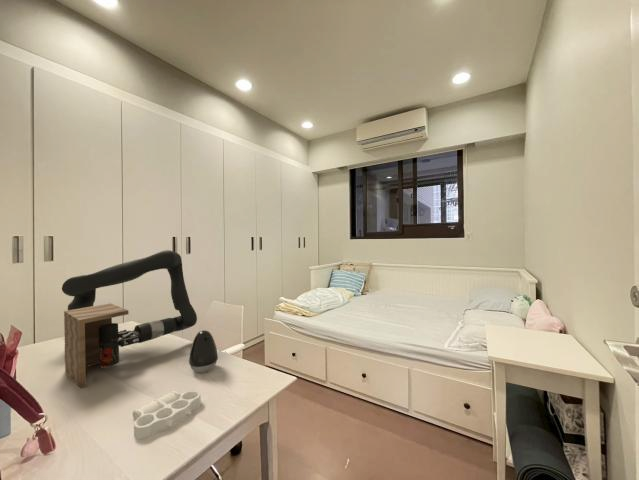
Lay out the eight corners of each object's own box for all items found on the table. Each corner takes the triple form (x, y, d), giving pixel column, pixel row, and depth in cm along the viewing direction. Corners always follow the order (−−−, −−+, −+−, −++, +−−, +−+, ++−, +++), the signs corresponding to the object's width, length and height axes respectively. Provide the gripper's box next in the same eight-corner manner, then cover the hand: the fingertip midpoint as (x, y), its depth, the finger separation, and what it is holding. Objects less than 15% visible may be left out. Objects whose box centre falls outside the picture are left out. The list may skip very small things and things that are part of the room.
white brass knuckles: (182, 393, 89) (210, 407, 81) (119, 426, 73) (146, 448, 66) (182, 383, 89) (210, 396, 81) (119, 414, 73) (146, 434, 66)
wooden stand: (65, 372, 102) (64, 311, 102) (111, 357, 114) (110, 303, 114) (80, 388, 91) (78, 320, 91) (129, 370, 103) (128, 310, 103)
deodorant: (123, 360, 107) (121, 323, 107) (109, 367, 101) (108, 328, 101) (109, 359, 108) (108, 322, 107) (95, 367, 102) (94, 328, 101)
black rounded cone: (194, 379, 96) (193, 337, 96) (186, 369, 104) (185, 330, 104) (222, 370, 103) (221, 331, 103) (212, 360, 111) (212, 324, 111)
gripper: (142, 319, 120) (94, 330, 106) (156, 325, 112) (107, 338, 98) (142, 336, 120) (95, 349, 106) (157, 343, 112) (108, 358, 98)
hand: (101, 344), depth 102 cm, fingers closed on deodorant, 6 cm apart
